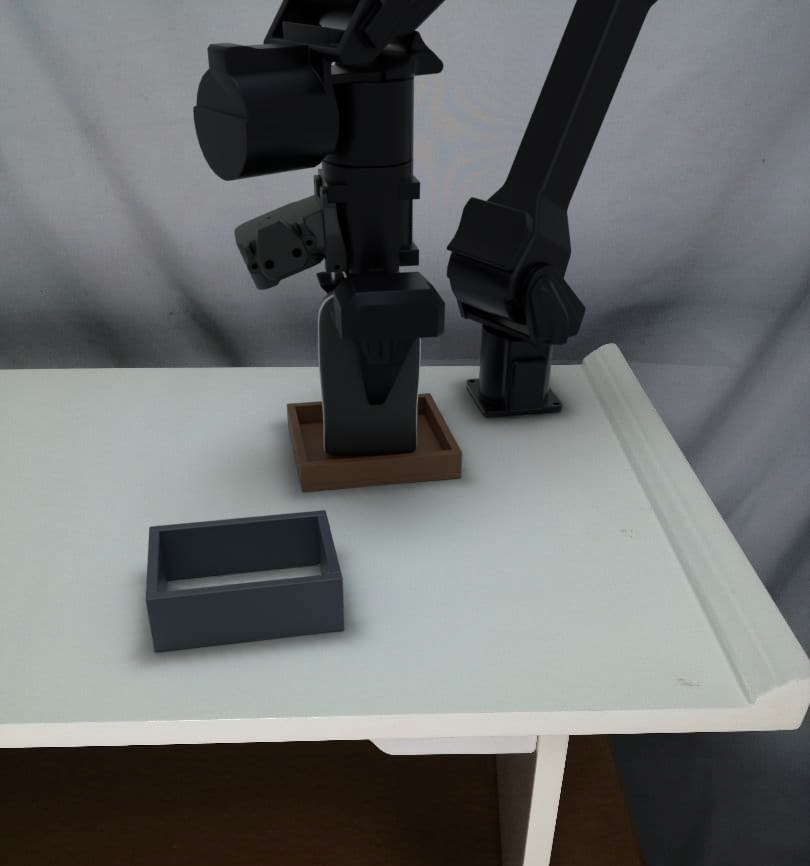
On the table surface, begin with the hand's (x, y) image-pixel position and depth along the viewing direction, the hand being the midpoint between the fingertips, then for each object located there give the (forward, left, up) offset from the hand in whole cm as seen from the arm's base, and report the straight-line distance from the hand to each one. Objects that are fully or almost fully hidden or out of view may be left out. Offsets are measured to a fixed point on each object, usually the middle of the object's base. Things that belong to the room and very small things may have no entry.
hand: (370, 390), depth 67 cm
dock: (+17, -10, -5) cm, 20 cm away
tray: (0, 0, -5) cm, 5 cm away
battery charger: (0, 0, -4) cm, 4 cm away
